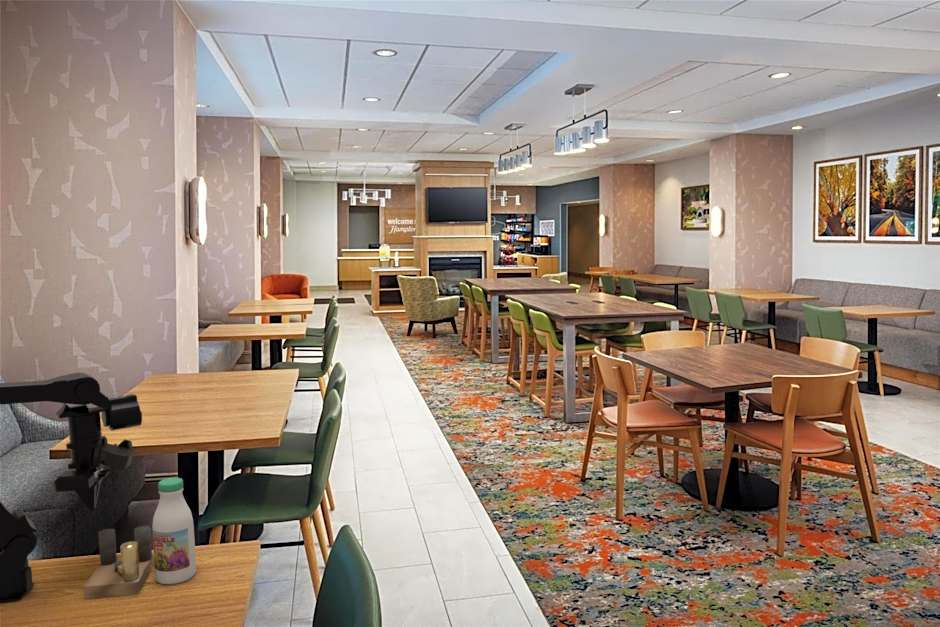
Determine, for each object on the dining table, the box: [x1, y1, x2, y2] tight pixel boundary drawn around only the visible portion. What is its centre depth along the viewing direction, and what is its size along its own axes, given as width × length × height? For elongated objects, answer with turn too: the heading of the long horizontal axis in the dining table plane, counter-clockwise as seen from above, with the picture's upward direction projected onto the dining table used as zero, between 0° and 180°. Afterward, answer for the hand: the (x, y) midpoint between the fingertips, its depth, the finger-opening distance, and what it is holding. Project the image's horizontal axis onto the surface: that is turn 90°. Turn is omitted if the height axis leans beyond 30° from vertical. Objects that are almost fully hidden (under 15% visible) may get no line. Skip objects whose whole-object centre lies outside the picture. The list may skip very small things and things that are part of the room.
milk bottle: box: [151, 477, 197, 585], centre depth 142 cm, size 8×8×20 cm
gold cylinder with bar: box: [118, 540, 140, 581], centre depth 137 cm, size 6×3×6 cm, turn 47°
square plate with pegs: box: [82, 525, 154, 600], centre depth 140 cm, size 10×12×9 cm
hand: (92, 509), depth 145 cm, fingers closed
